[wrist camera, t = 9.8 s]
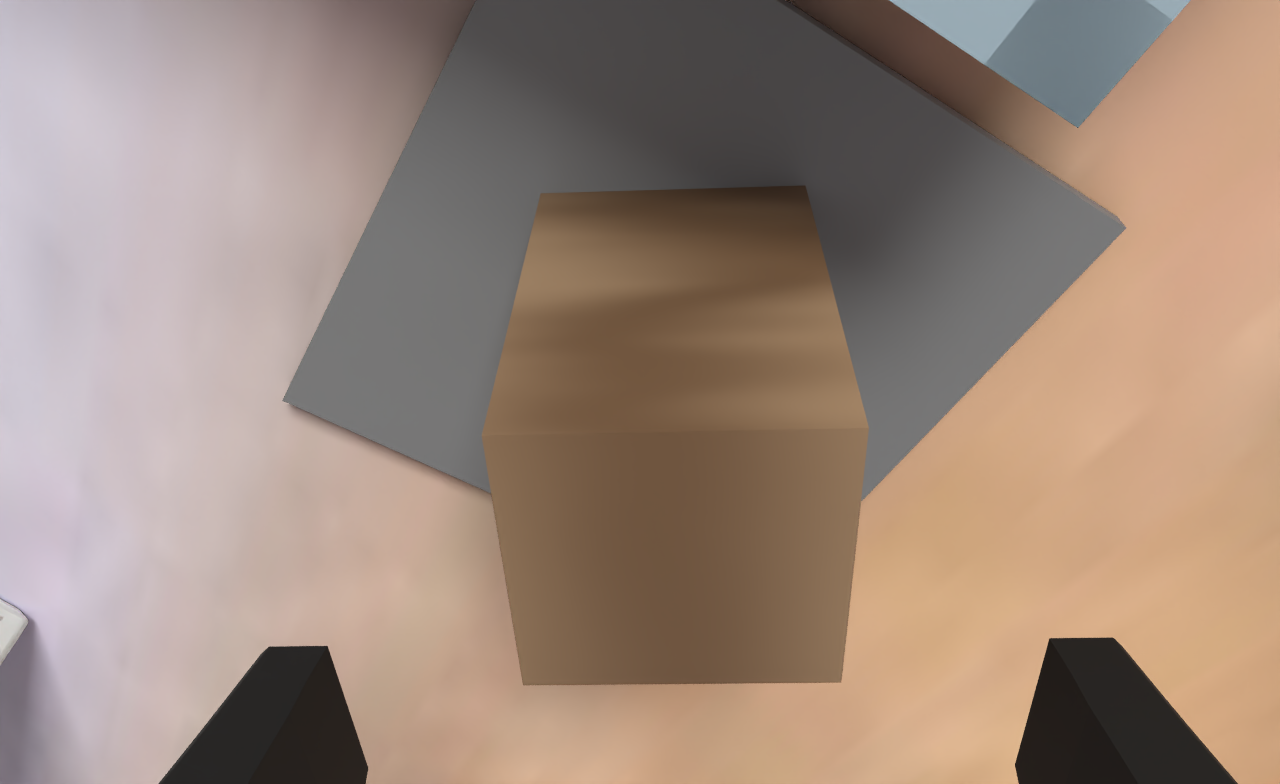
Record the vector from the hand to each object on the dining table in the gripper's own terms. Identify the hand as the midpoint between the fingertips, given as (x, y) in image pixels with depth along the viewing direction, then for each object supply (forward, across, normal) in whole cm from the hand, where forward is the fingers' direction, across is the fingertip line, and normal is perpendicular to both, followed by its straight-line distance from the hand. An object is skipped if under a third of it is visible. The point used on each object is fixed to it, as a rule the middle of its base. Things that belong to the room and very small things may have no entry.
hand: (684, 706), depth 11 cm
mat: (+8, 0, 0) cm, 8 cm away
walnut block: (+8, 0, 0) cm, 8 cm away
